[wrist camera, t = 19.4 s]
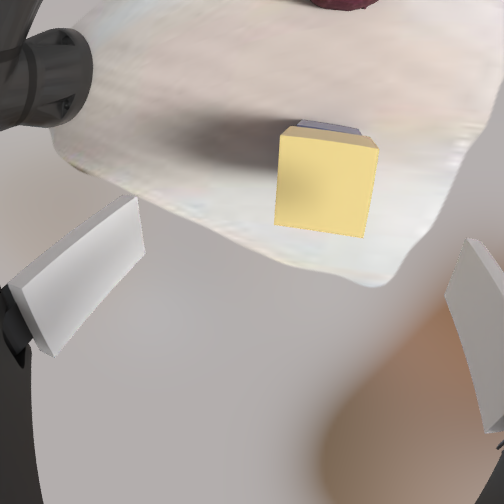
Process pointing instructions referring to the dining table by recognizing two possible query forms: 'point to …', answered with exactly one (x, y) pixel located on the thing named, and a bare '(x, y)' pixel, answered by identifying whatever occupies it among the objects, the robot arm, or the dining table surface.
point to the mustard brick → (325, 180)
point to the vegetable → (343, 4)
